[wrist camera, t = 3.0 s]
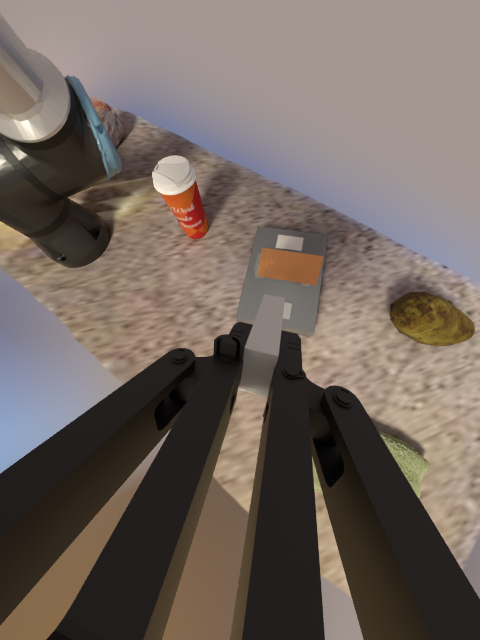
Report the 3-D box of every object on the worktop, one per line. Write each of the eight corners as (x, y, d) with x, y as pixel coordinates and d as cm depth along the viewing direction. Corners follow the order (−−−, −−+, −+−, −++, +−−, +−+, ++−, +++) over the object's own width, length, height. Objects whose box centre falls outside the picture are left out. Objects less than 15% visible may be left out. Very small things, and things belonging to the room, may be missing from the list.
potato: (438, 366, 33) (492, 365, 26) (368, 324, 36) (398, 312, 28) (459, 329, 34) (516, 317, 27) (389, 291, 37) (423, 271, 30)
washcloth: (397, 536, 28) (414, 557, 25) (286, 470, 32) (289, 481, 29) (420, 448, 31) (438, 457, 28) (314, 396, 34) (320, 398, 31)
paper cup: (176, 238, 46) (141, 182, 32) (189, 212, 47) (161, 149, 34) (205, 246, 44) (182, 192, 31) (218, 219, 46) (200, 157, 32)
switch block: (308, 336, 37) (320, 328, 30) (237, 322, 39) (233, 311, 32) (321, 247, 41) (334, 222, 34) (258, 239, 43) (257, 213, 36)
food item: (111, 130, 58) (83, 83, 49) (131, 136, 57) (105, 89, 47) (84, 161, 56) (48, 119, 46) (103, 169, 54) (71, 126, 45)
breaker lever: (299, 281, 36) (316, 285, 20) (265, 276, 37) (257, 275, 21) (303, 265, 35) (323, 256, 19) (268, 260, 36) (262, 247, 20)
